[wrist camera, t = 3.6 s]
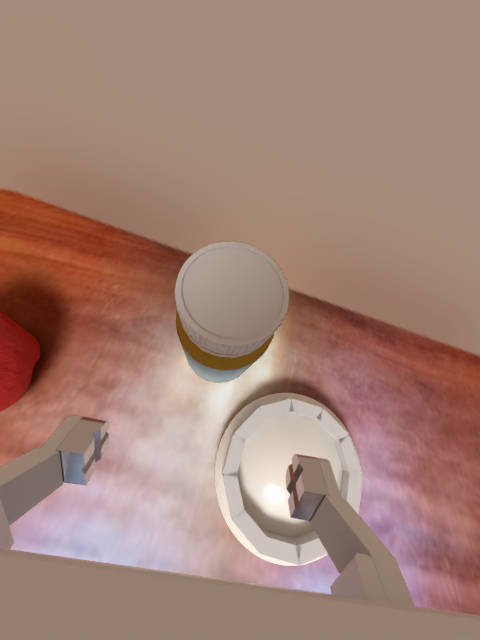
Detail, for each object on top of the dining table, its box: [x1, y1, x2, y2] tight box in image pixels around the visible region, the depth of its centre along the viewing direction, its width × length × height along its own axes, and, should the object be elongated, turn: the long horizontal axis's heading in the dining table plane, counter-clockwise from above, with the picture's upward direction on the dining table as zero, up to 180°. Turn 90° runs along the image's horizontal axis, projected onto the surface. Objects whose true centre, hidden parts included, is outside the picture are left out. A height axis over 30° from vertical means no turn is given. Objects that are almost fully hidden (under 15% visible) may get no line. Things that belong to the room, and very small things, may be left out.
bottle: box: [175, 242, 289, 383], centre depth 20 cm, size 7×7×15 cm
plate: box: [215, 393, 362, 566], centre depth 24 cm, size 14×14×2 cm
